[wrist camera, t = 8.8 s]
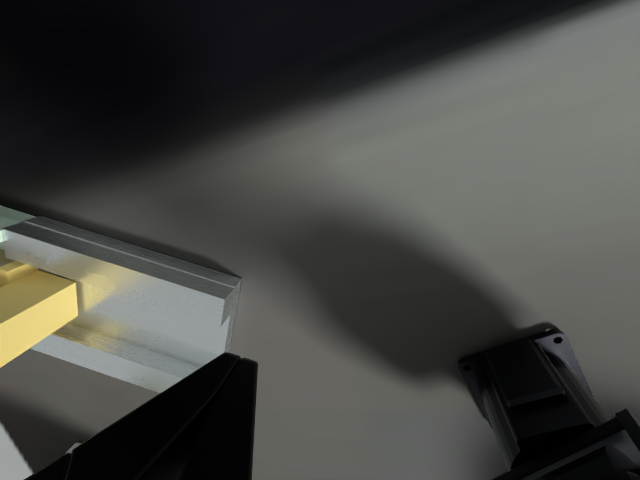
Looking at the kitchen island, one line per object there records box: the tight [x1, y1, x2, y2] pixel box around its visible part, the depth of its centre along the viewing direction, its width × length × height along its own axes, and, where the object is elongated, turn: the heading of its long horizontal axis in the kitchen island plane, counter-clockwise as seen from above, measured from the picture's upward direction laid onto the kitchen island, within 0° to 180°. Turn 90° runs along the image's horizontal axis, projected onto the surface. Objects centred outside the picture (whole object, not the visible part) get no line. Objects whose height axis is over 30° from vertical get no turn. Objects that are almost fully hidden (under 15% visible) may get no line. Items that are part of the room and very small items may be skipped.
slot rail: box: [1, 216, 242, 393], centre depth 24 cm, size 16×10×3 cm, turn 76°
